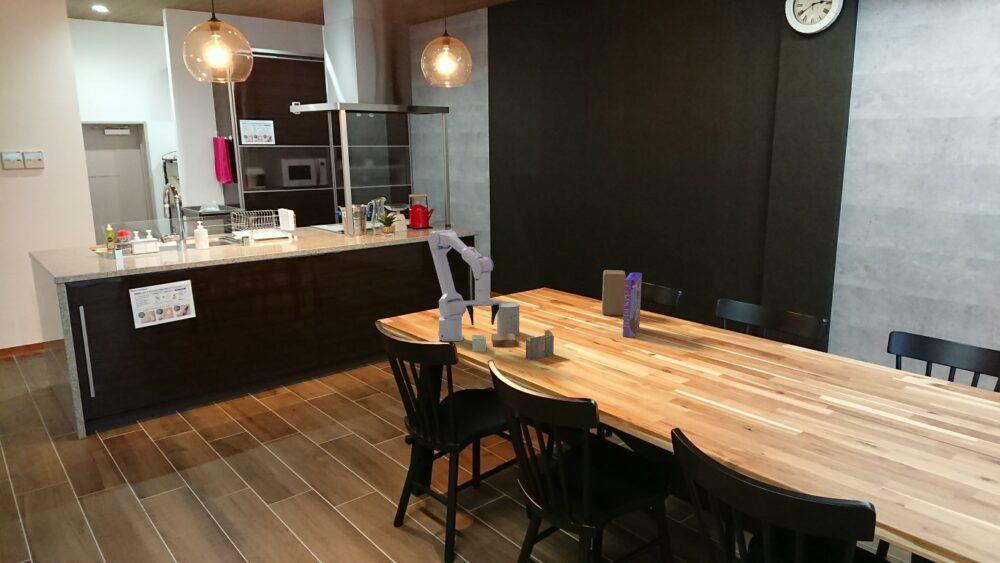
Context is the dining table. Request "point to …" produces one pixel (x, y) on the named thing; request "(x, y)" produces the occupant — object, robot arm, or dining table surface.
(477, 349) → the sage cube
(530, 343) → the ruin model on sheet
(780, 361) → the dining table surface
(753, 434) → the dining table surface
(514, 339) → the walnut slab
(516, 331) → the grey cylinder
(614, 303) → the wooden block
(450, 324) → the robot arm
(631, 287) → the cereal box
